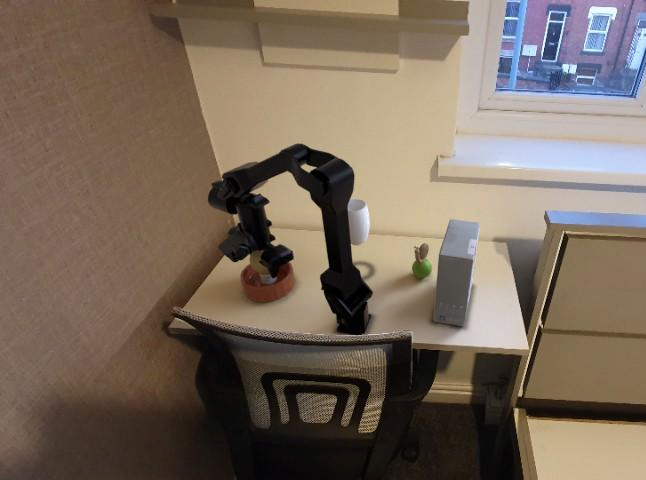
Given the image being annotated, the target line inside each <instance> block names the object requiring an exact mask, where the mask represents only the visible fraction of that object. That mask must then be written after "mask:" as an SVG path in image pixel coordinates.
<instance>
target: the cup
mask: <svg viewBox="0 0 646 480" xmlns="http://www.w3.org/2000/svg"><path fill="white" fill-rule="evenodd" d="M348 218H349V229H350V240H351V246H360V245H362V244H364V243H365V242H367V240H368V236H369V234H370V227H371V221H370V214H369V208H368V204H367V202H366V201H365V200H363V199H360V198H350V201H349V204H348Z"/></svg>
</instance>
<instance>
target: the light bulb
mask: <svg viewBox="0 0 646 480" xmlns="http://www.w3.org/2000/svg"><path fill="white" fill-rule="evenodd" d="M263 252H264V251H263V250H262V251H260V252H259V251H257V250H256V251H254V252H252V253H251V255H249V264H250V265H251V266H252V268H253V269H254V270H255V271H257V272H259V275H260V278H261V282H262V283H263V284H266V285H270V284H273V283H274V282H275V281H276V280H277V277H275V278H272V277H271V275H270V273H269V271H268V269H267V267H265V266H263V265H262V264H260V263H259V261H261V258H260V257H261V255H262V253H263Z"/></svg>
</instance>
